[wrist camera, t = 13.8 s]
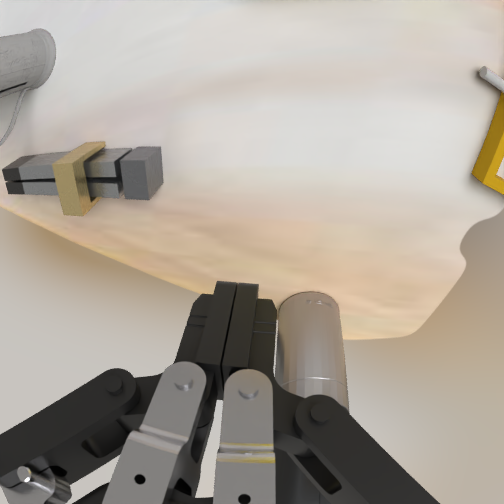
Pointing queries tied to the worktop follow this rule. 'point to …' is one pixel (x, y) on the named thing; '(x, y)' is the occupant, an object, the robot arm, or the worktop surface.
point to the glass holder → (25, 64)
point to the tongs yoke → (142, 172)
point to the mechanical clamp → (492, 140)
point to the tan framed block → (75, 180)
